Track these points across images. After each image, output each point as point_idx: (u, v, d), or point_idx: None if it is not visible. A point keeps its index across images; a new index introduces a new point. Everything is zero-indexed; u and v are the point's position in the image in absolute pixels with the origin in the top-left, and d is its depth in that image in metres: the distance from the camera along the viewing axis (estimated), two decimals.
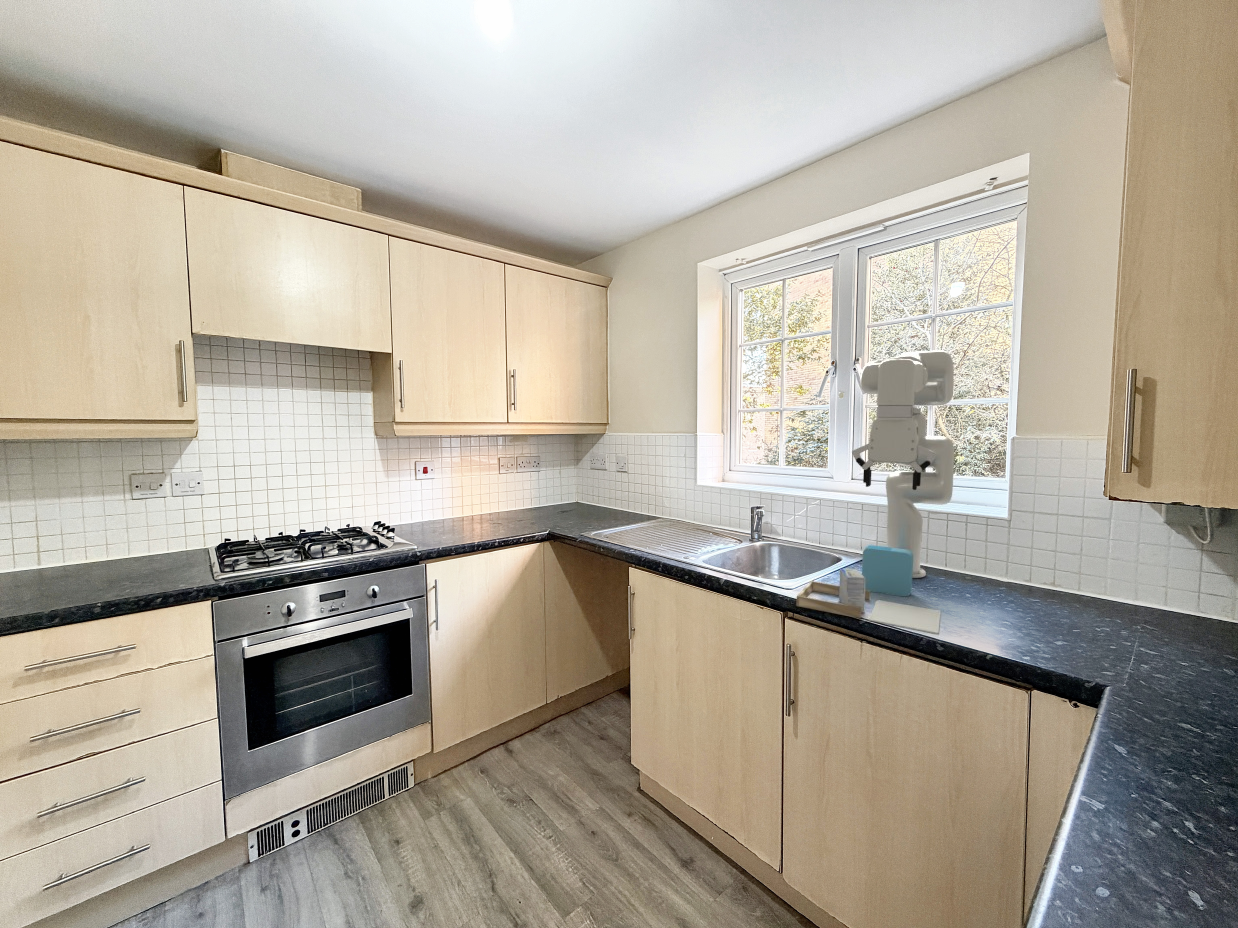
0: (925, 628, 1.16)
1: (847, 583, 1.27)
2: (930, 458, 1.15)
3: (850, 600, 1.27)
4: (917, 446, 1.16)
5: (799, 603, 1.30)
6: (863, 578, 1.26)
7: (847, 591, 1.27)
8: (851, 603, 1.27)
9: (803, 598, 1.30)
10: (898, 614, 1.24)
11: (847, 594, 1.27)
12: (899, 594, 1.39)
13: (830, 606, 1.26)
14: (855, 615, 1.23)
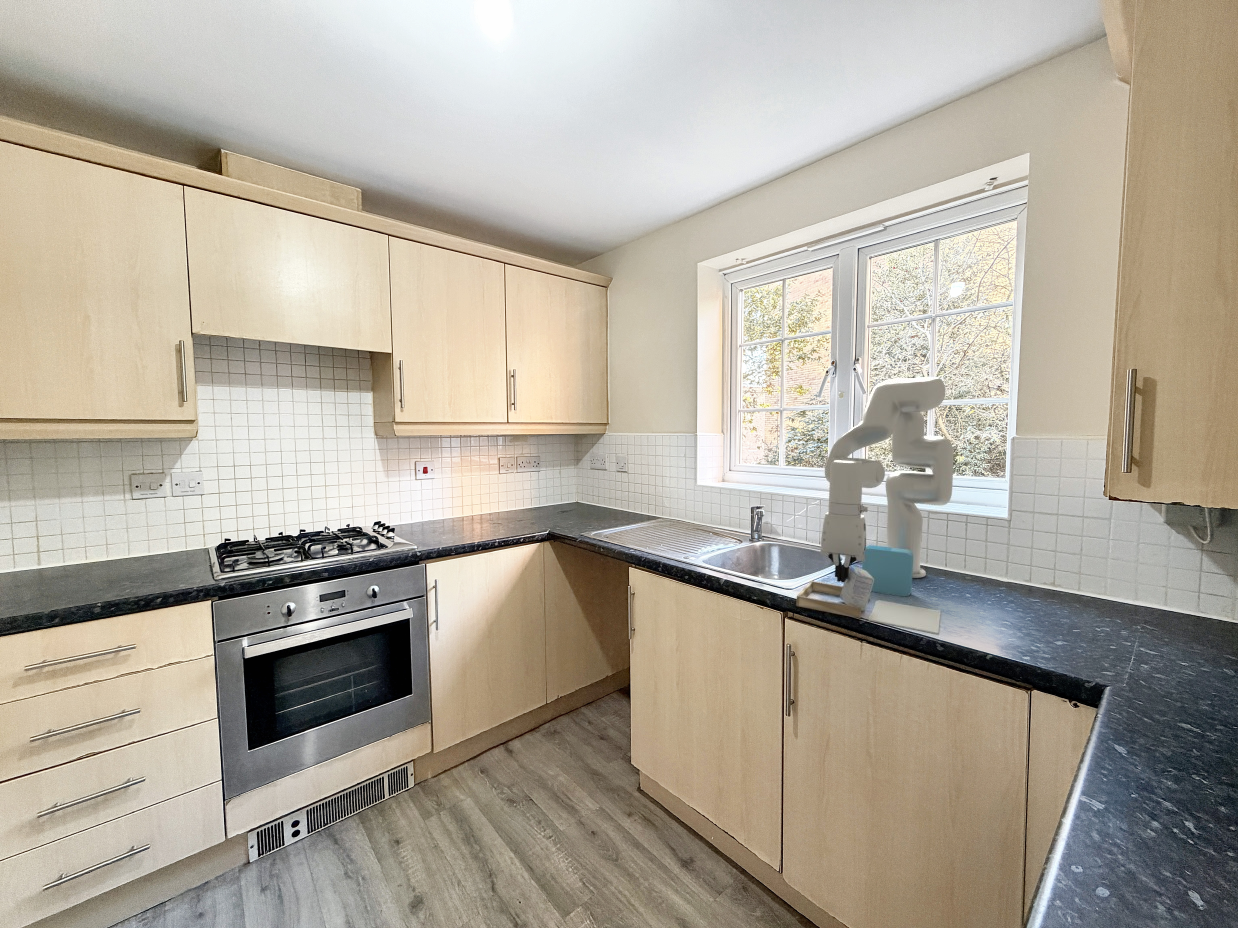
0: (925, 628, 1.16)
1: (855, 580, 1.26)
2: (858, 558, 1.28)
3: (853, 597, 1.27)
4: (864, 541, 1.27)
5: (799, 603, 1.30)
6: (872, 579, 1.26)
7: (853, 588, 1.27)
8: (854, 600, 1.27)
9: (803, 598, 1.30)
10: (898, 614, 1.24)
11: (852, 591, 1.27)
12: (899, 594, 1.39)
13: (830, 606, 1.26)
14: (855, 615, 1.23)
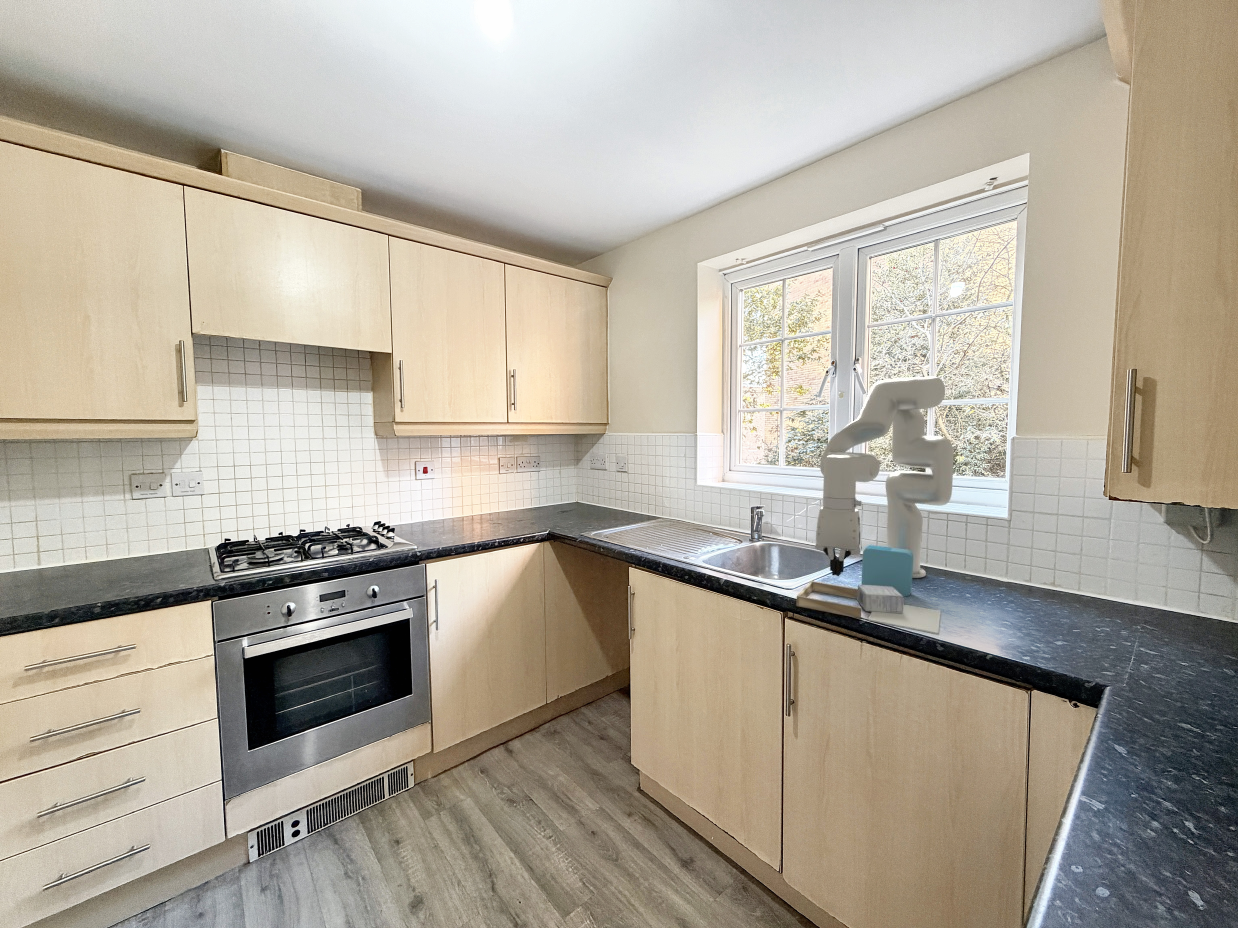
0: (925, 628, 1.16)
1: (896, 596, 1.25)
2: (853, 552, 1.29)
3: (878, 598, 1.26)
4: (858, 535, 1.28)
5: (799, 603, 1.30)
6: (902, 611, 1.25)
7: (887, 596, 1.25)
8: (874, 599, 1.26)
9: (803, 598, 1.30)
10: (898, 614, 1.24)
11: (884, 595, 1.25)
12: None
13: (830, 606, 1.26)
14: (855, 615, 1.23)
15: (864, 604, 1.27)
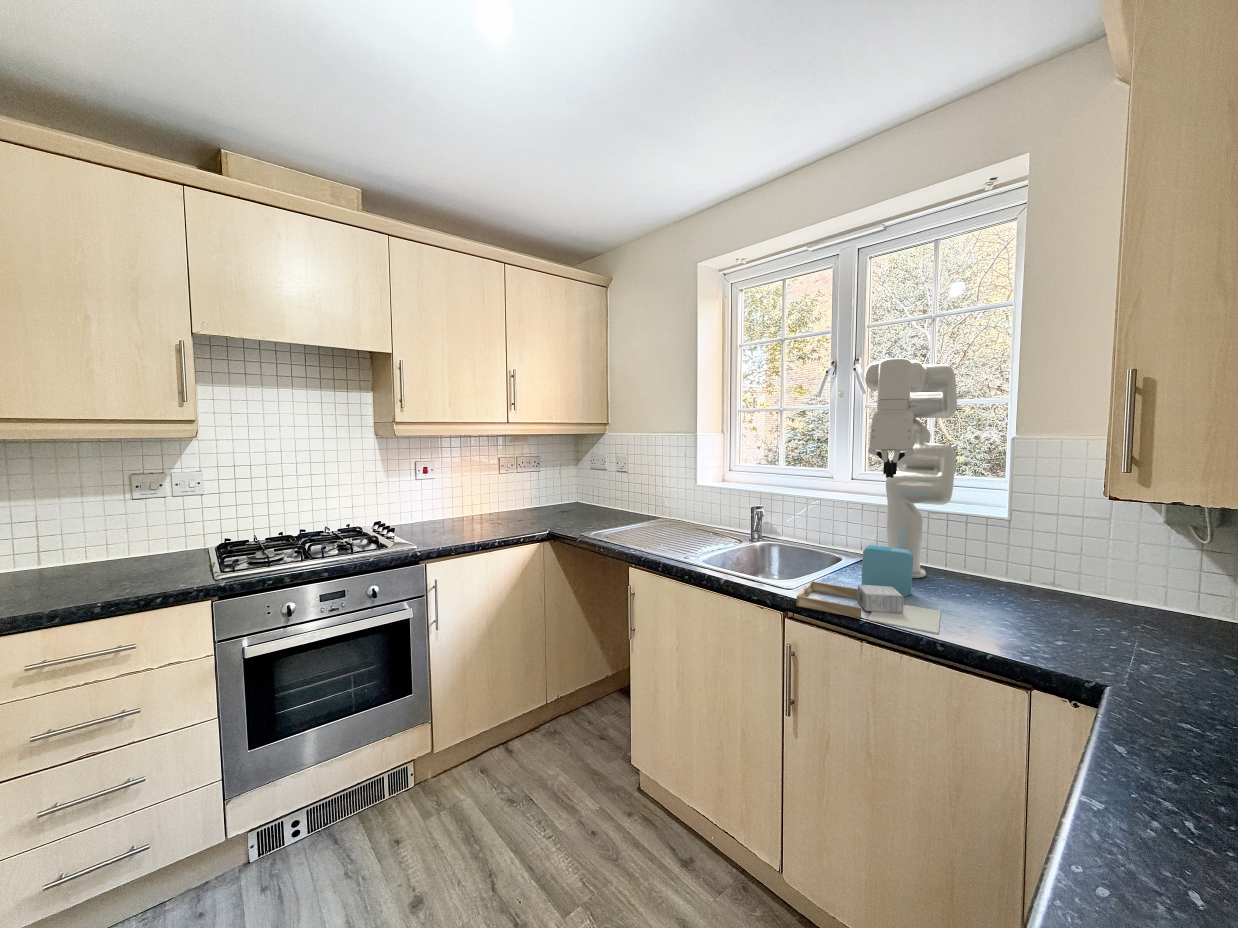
0: (925, 628, 1.16)
1: (896, 596, 1.25)
2: (907, 453, 1.33)
3: (878, 598, 1.26)
4: (913, 435, 1.31)
5: (799, 603, 1.30)
6: (902, 611, 1.25)
7: (887, 596, 1.25)
8: (874, 599, 1.26)
9: (803, 598, 1.30)
10: (898, 614, 1.24)
11: (884, 595, 1.25)
12: None
13: (830, 606, 1.26)
14: (855, 615, 1.23)
15: (864, 604, 1.27)
